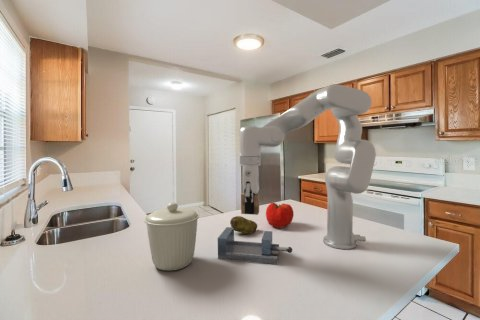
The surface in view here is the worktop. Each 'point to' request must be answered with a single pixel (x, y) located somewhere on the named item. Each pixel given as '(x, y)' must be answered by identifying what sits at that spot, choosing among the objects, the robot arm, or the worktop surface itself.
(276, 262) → the vise bed
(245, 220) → the potato
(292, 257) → the worktop surface
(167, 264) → the canister
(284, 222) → the tomato
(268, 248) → the sliding jaw
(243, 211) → the walnut block
